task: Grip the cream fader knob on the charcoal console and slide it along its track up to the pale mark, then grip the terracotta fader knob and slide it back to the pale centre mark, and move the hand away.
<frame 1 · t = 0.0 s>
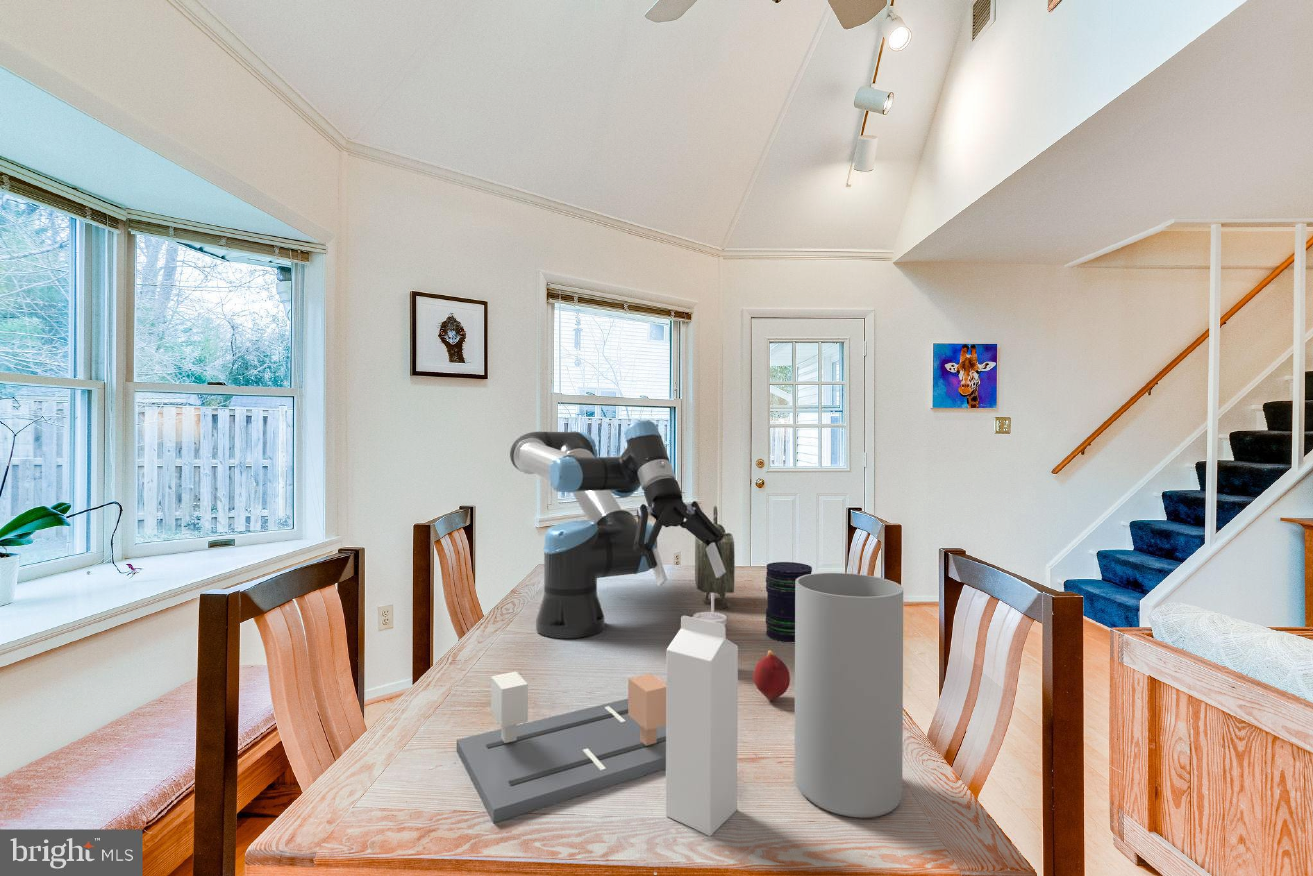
hand: (692, 579, 118), 15 cm above the table, tool tilted 35°, fingers open, 13 cm apart
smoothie: (709, 669, 113), on the table
storage jar: (788, 636, 132), on the table
cylinder vase: (846, 791, 74), on the table
milk: (701, 814, 70), on the table
fader b: (648, 712, 82), point 6 cm above the table, slide at 8.0 cm
onion: (771, 701, 100), on the table
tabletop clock: (713, 604, 158), on the table
console: (578, 753, 82), on the table
fader a: (509, 709, 83), point 6 cm above the table, slide at -8.0 cm
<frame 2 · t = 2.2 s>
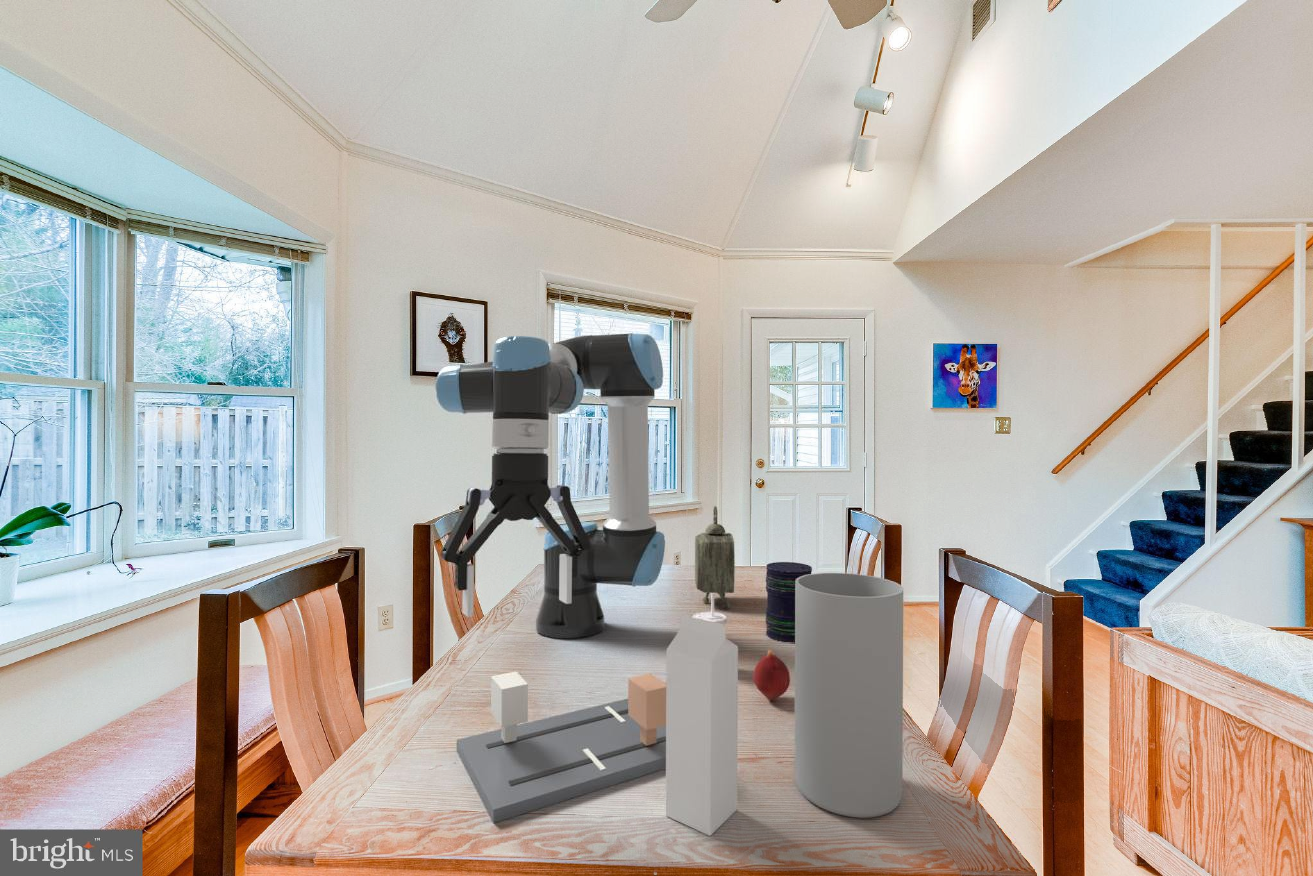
hand: (518, 608, 83), 19 cm above the table, tool pointing down, fingers open, 13 cm apart
nothing on the table moved.
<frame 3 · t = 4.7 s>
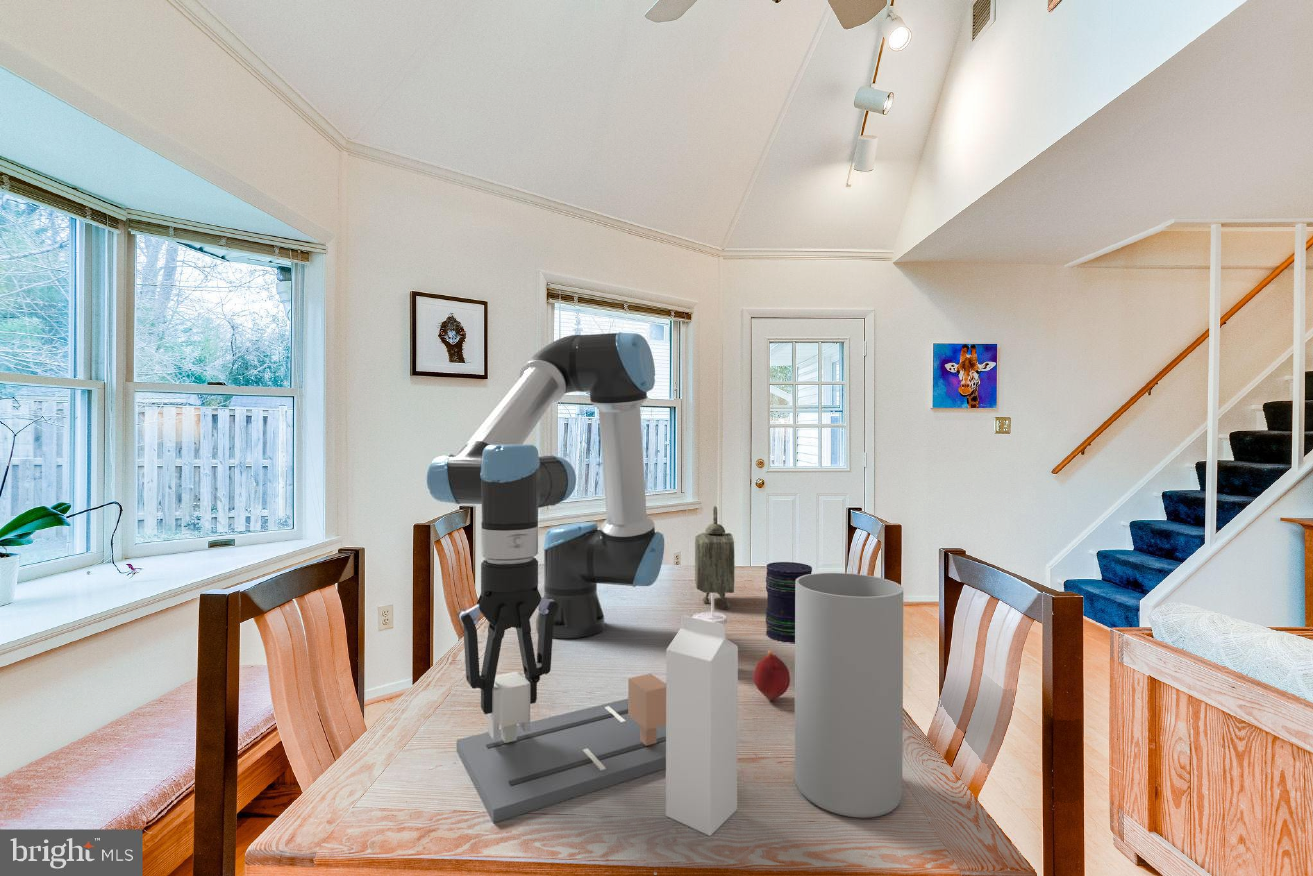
hand: (509, 731, 83), 3 cm above the table, tool pointing down, fingers closed on fader a, 3 cm apart
fader a: (509, 709, 83), point 6 cm above the table, slide at -8.0 cm, touching gripper
everything else where it was.
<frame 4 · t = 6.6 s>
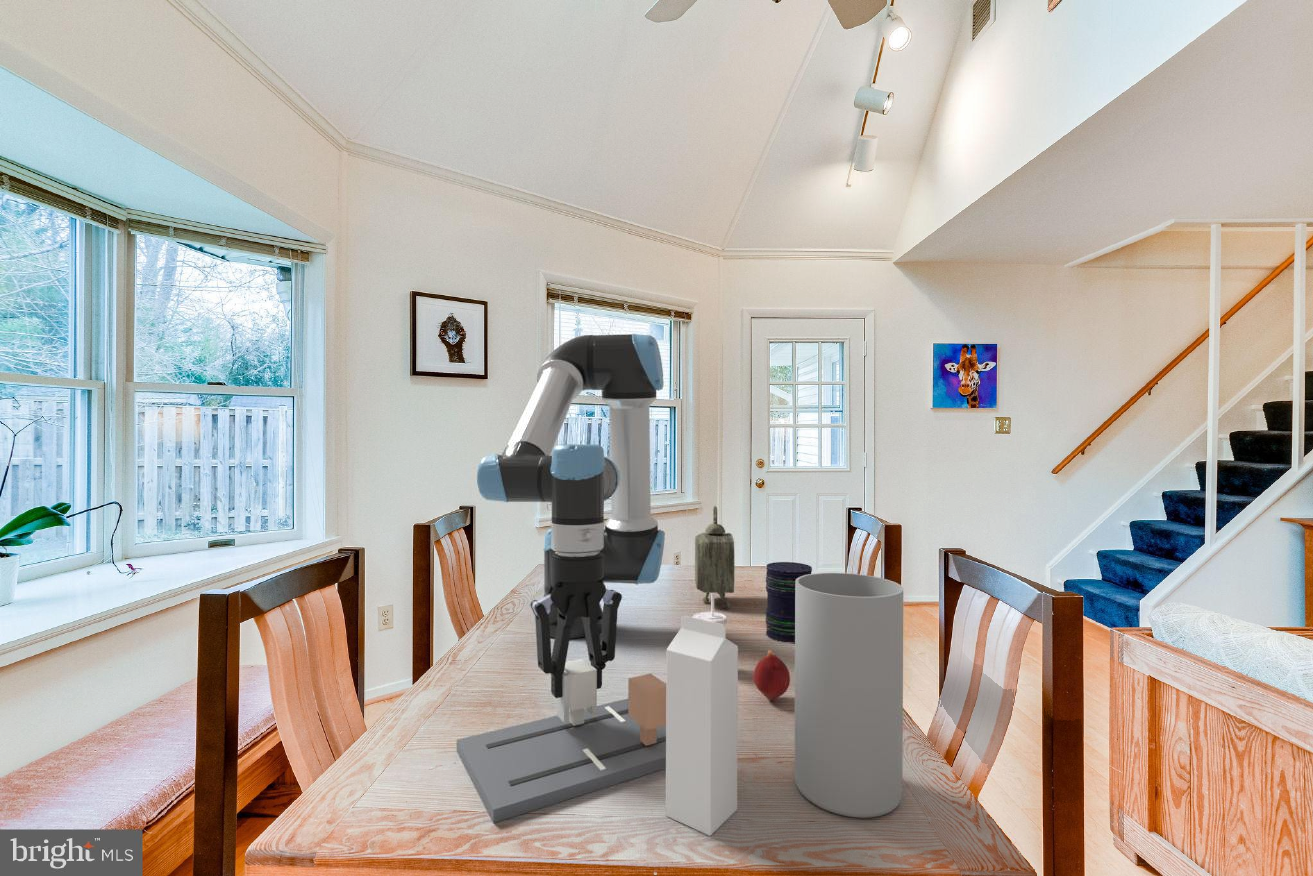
hand: (576, 714, 88), 3 cm above the table, tool pointing down, fingers closed on fader a, 3 cm apart
fader a: (576, 694, 88), point 6 cm above the table, slide at 1.9 cm, touching gripper
everything else where it was.
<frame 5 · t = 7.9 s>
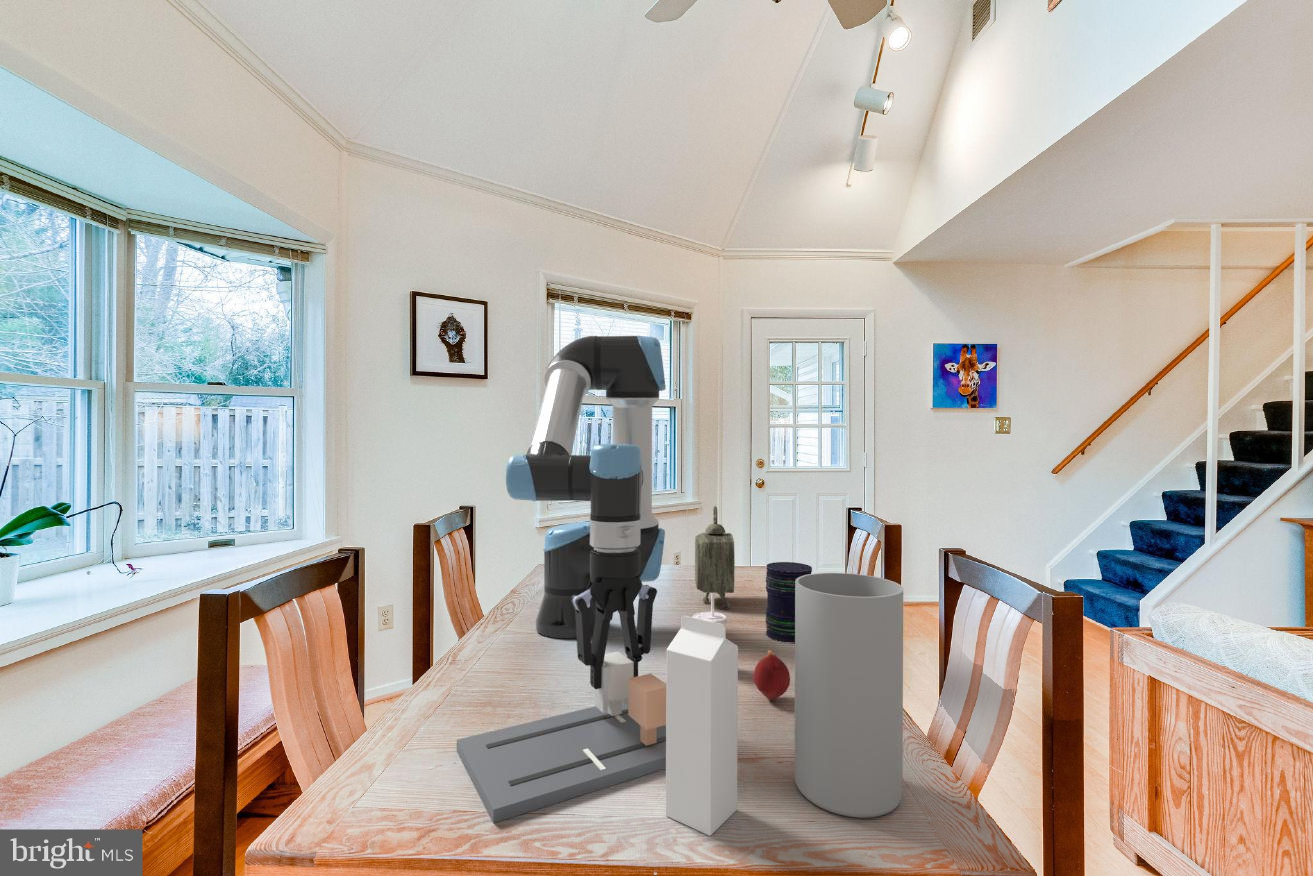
hand: (614, 705, 91), 3 cm above the table, tool pointing down, fingers closed on fader a, 3 cm apart
fader a: (614, 685, 91), point 6 cm above the table, slide at 7.9 cm, touching gripper
everything else where it was.
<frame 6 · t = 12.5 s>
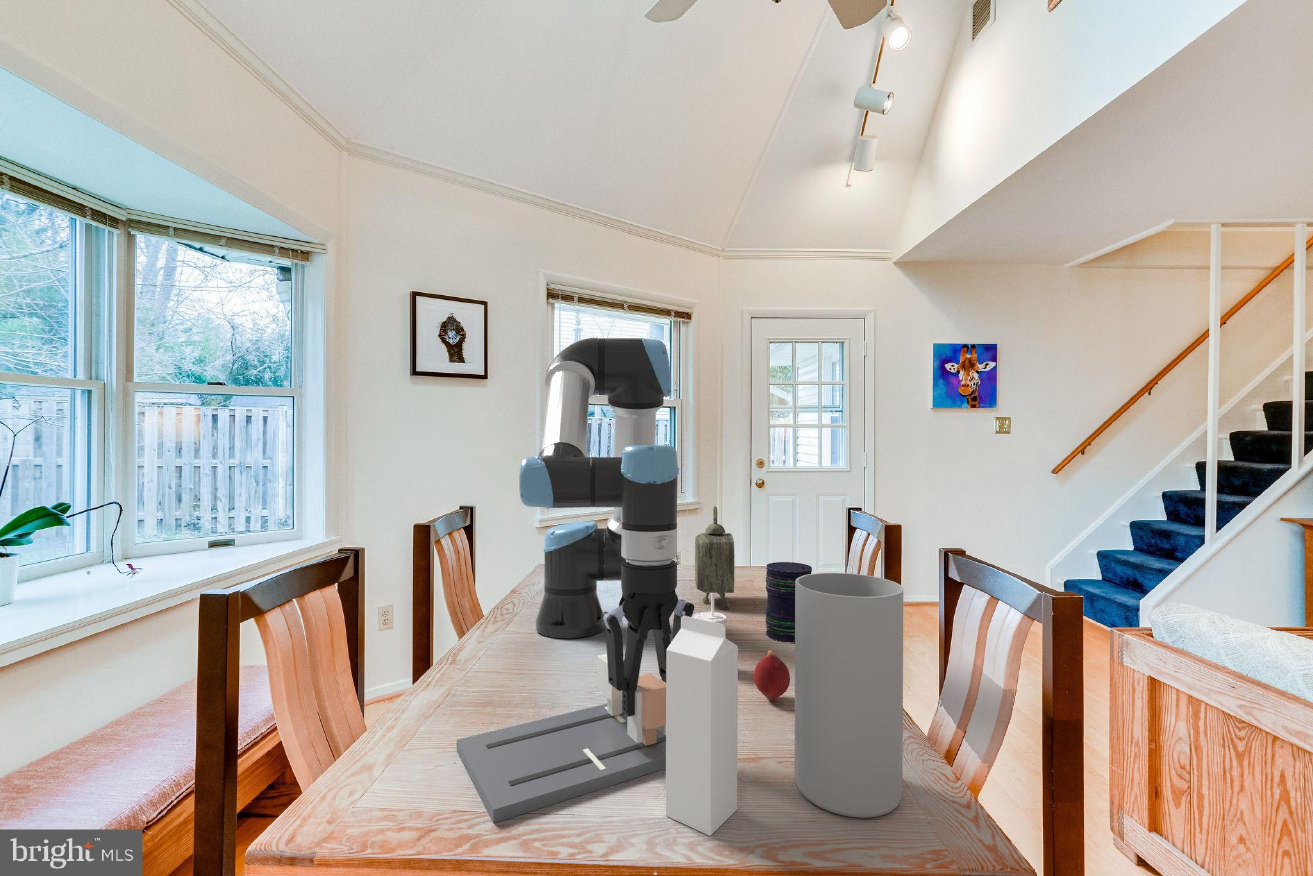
hand: (648, 733, 82), 3 cm above the table, tool pointing down, fingers closed on fader b, 3 cm apart
fader b: (648, 712, 82), point 6 cm above the table, slide at 8.0 cm, touching gripper
fader a: (614, 685, 91), point 6 cm above the table, slide at 7.9 cm
everything else where it was.
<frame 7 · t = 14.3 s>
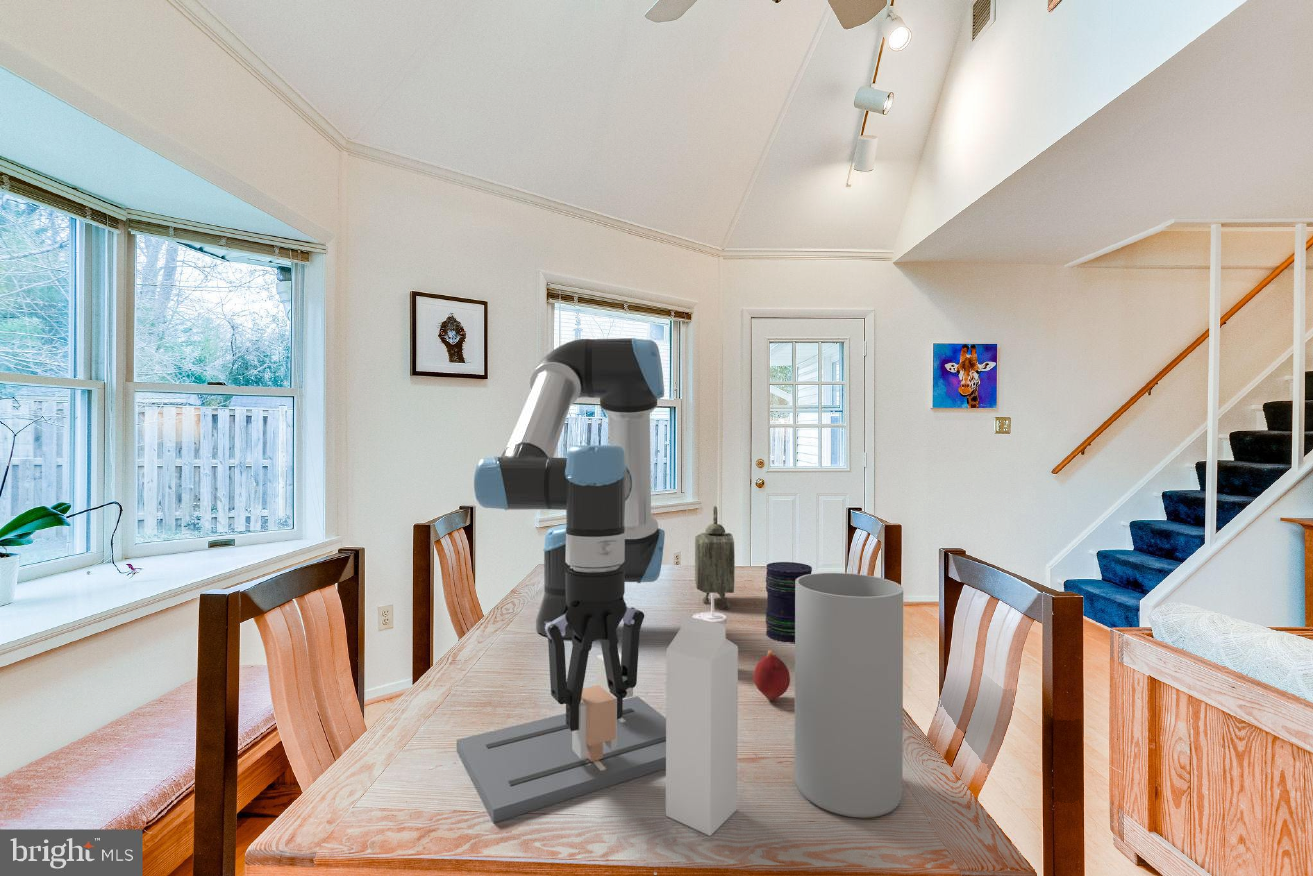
hand: (594, 748, 78), 3 cm above the table, tool pointing down, fingers closed on fader b, 4 cm apart
fader b: (594, 725, 78), point 6 cm above the table, slide at 0.1 cm, touching gripper
everything else where it was.
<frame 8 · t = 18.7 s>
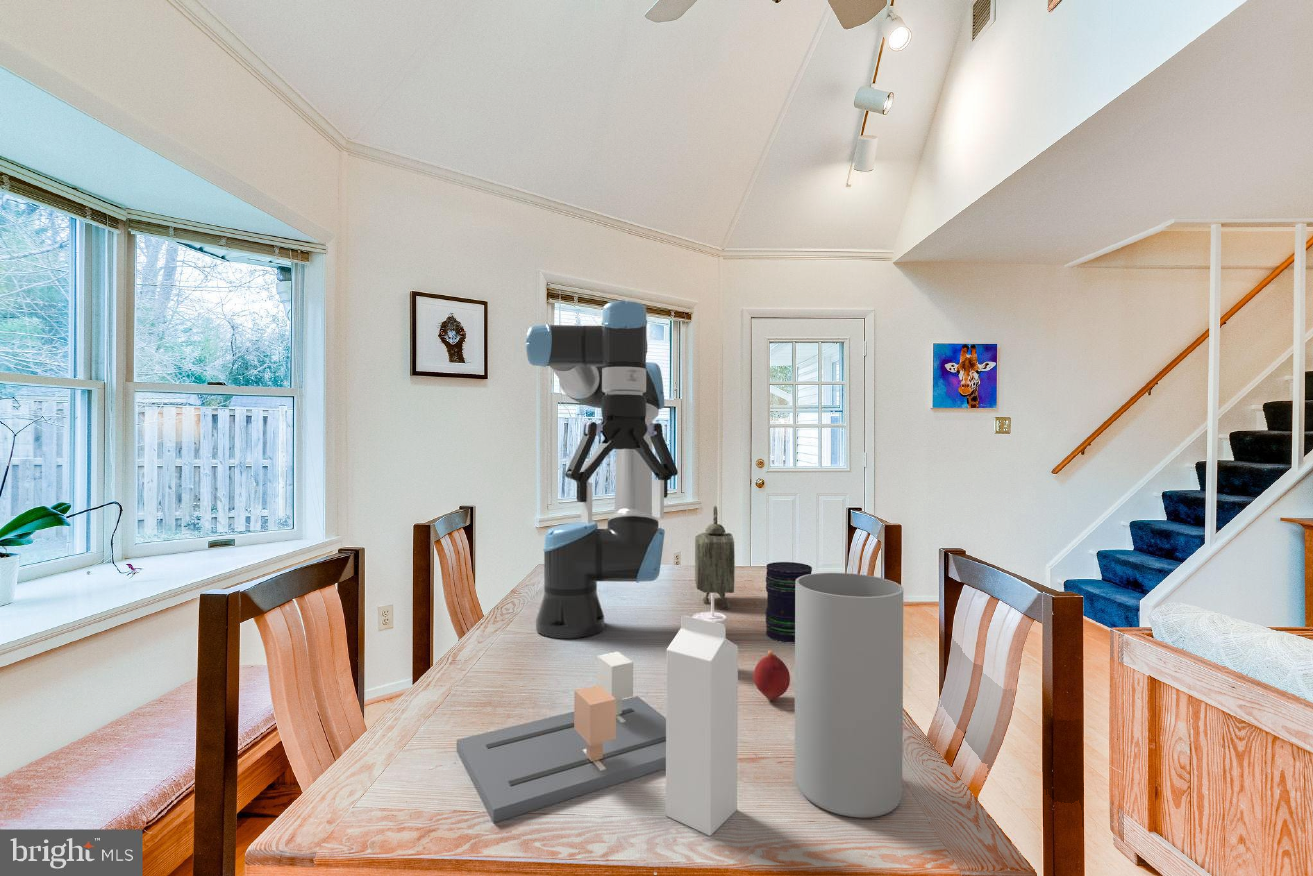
hand: (623, 519, 104), 29 cm above the table, tool pointing down, fingers open, 13 cm apart
fader b: (594, 725, 78), point 6 cm above the table, slide at 0.1 cm
everything else where it was.
at the end: fader a slide at 7.9 cm; fader b slide at 0.1 cm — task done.
